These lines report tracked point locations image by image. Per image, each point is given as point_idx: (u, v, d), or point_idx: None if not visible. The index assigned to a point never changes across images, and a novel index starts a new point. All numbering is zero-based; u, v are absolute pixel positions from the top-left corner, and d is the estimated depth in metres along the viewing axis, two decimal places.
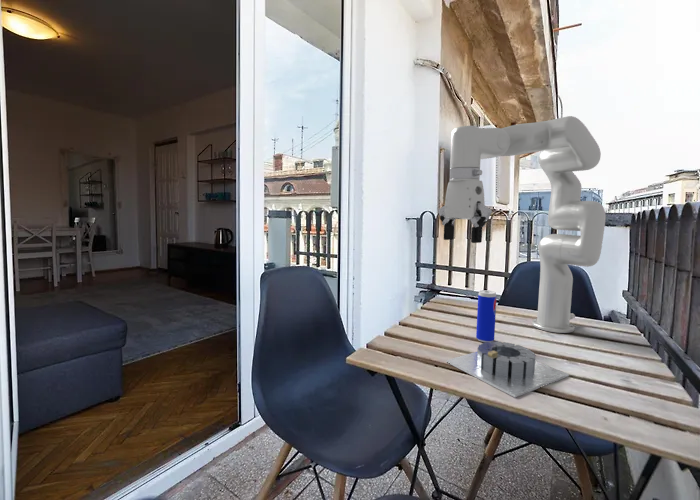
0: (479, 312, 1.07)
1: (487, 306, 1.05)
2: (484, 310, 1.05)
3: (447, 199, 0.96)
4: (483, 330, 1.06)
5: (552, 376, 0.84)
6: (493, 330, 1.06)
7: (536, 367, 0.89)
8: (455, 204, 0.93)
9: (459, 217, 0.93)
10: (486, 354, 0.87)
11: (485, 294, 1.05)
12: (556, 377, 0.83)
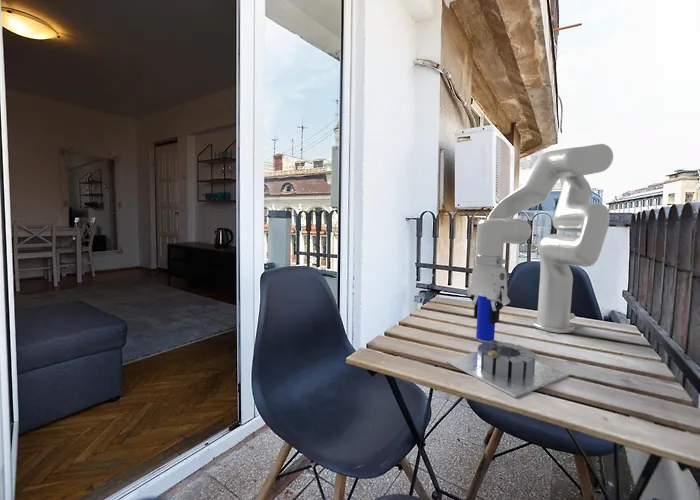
0: (479, 312, 1.07)
1: (487, 306, 1.05)
2: (484, 310, 1.05)
3: (473, 279, 1.09)
4: (483, 330, 1.06)
5: (552, 376, 0.84)
6: (493, 330, 1.06)
7: (536, 367, 0.89)
8: (481, 285, 1.06)
9: None
10: (486, 354, 0.87)
11: None
12: (556, 377, 0.83)
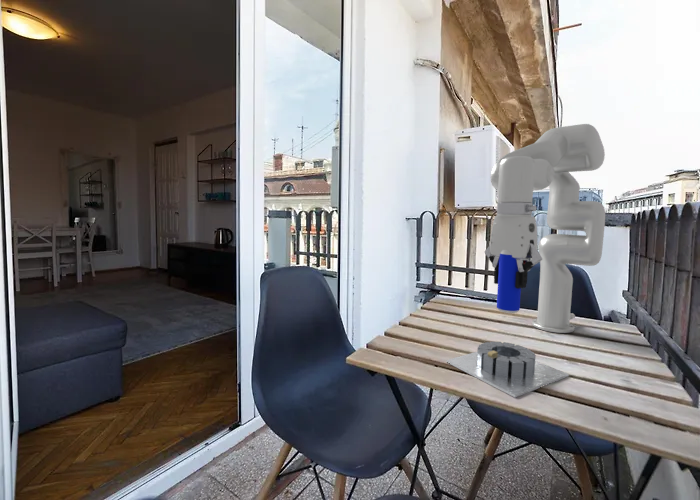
0: (501, 275, 0.85)
1: (512, 267, 0.83)
2: (508, 272, 0.84)
3: (493, 235, 0.87)
4: (506, 297, 0.85)
5: (552, 376, 0.84)
6: (519, 297, 0.85)
7: (536, 367, 0.89)
8: (503, 241, 0.84)
9: None
10: (486, 354, 0.87)
11: None
12: (556, 377, 0.83)
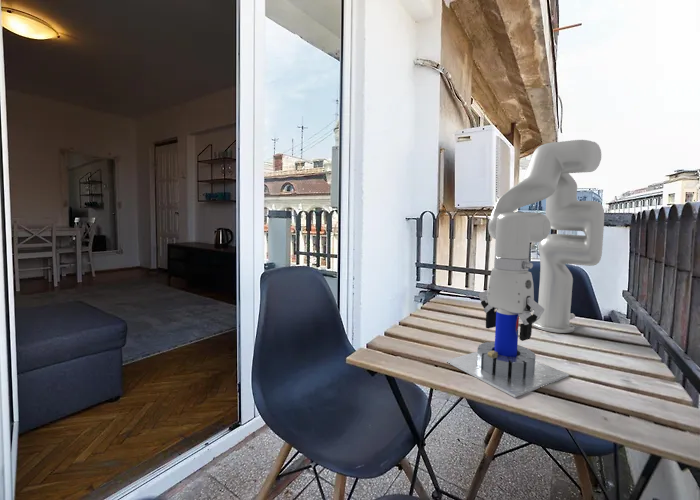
0: (498, 333, 0.87)
1: (508, 326, 0.85)
2: (505, 331, 0.86)
3: (491, 287, 0.89)
4: (503, 354, 0.87)
5: (552, 376, 0.84)
6: (515, 355, 0.87)
7: (536, 367, 0.89)
8: (501, 295, 0.86)
9: (505, 309, 0.86)
10: (486, 354, 0.87)
11: (505, 311, 0.86)
12: (556, 377, 0.83)
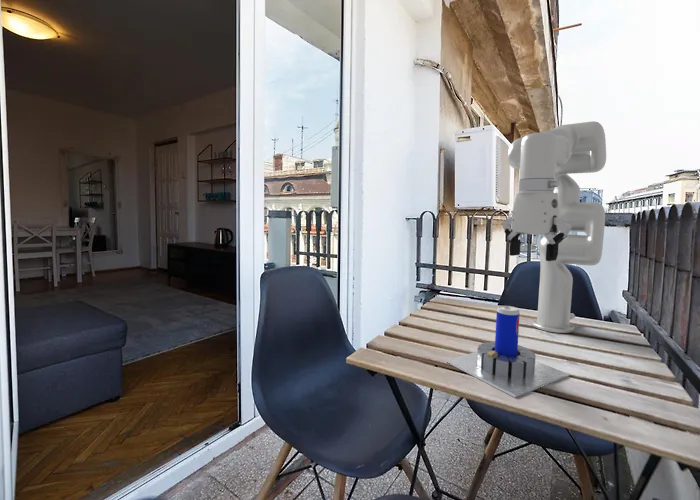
0: (498, 333, 0.87)
1: (509, 326, 0.85)
2: (505, 331, 0.86)
3: (515, 212, 0.88)
4: (503, 355, 0.87)
5: (552, 376, 0.84)
6: (515, 355, 0.87)
7: (536, 367, 0.89)
8: (526, 218, 0.85)
9: (530, 232, 0.85)
10: (486, 354, 0.87)
11: (506, 311, 0.85)
12: (556, 377, 0.83)
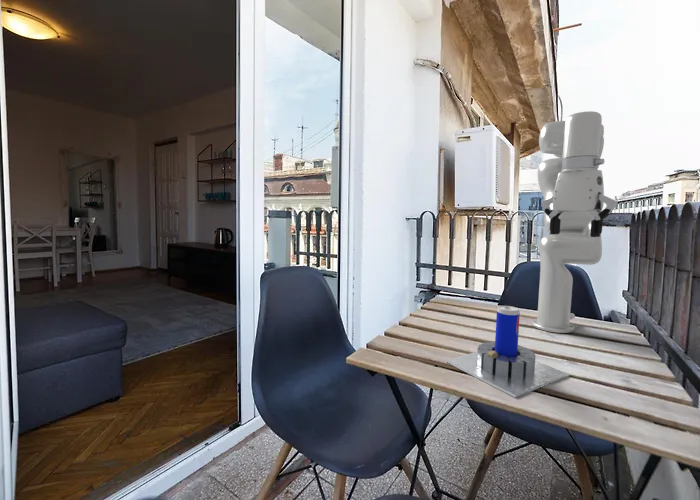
0: (498, 333, 0.87)
1: (509, 326, 0.85)
2: (505, 331, 0.86)
3: (557, 191, 0.90)
4: (503, 355, 0.87)
5: (552, 376, 0.84)
6: (515, 355, 0.87)
7: (536, 367, 0.89)
8: (569, 196, 0.87)
9: (574, 210, 0.87)
10: (486, 354, 0.87)
11: (506, 311, 0.85)
12: (556, 377, 0.83)
